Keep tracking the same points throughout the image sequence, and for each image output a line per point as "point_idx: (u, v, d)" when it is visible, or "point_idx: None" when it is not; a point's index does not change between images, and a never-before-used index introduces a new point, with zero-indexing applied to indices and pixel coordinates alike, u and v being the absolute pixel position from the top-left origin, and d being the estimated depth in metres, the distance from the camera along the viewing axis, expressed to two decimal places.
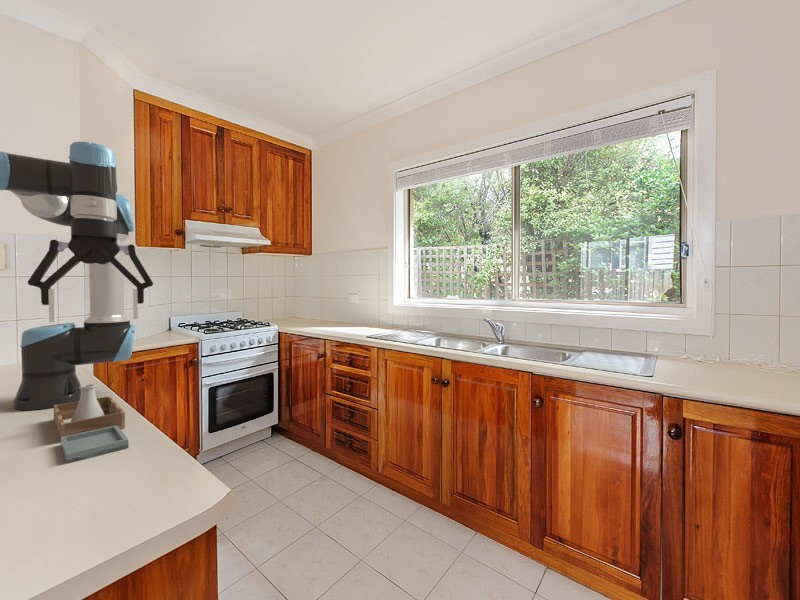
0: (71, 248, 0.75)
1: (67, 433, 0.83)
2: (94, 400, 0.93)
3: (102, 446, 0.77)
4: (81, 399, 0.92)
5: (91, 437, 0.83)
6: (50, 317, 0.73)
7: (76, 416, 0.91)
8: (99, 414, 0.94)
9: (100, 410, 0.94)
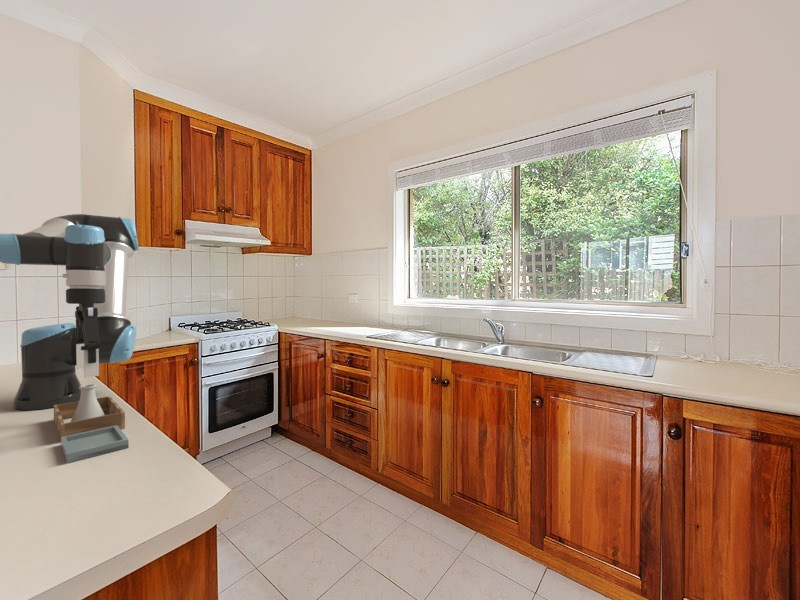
0: None
1: (67, 433, 0.83)
2: (94, 400, 0.93)
3: (102, 446, 0.77)
4: (81, 399, 0.92)
5: (91, 437, 0.83)
6: None
7: (76, 416, 0.91)
8: (99, 414, 0.94)
9: (100, 410, 0.94)
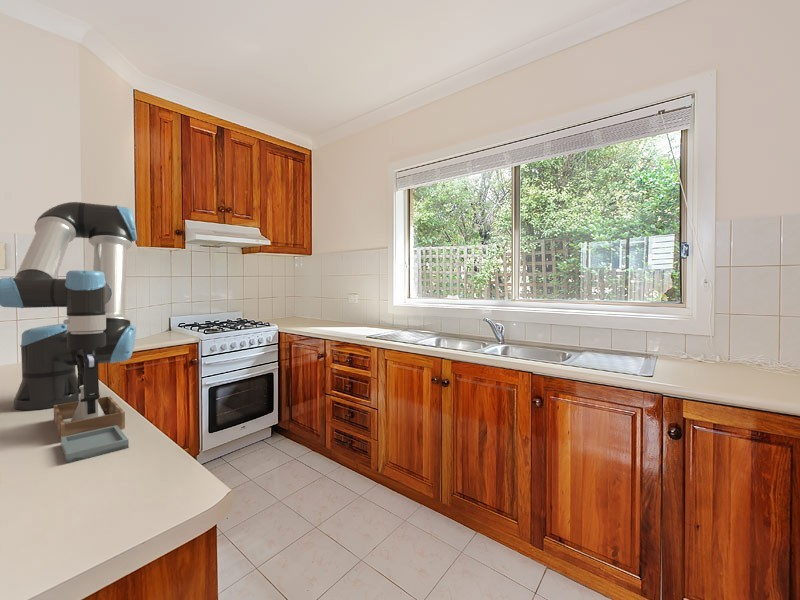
0: None
1: (67, 433, 0.83)
2: None
3: (102, 446, 0.77)
4: None
5: (91, 437, 0.83)
6: None
7: (76, 416, 0.91)
8: (99, 413, 0.94)
9: (100, 410, 0.94)
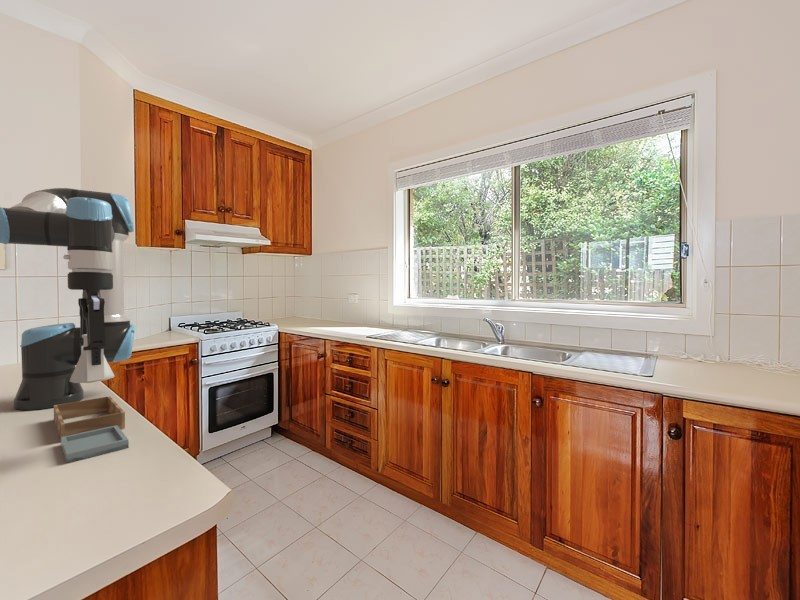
0: None
1: (67, 433, 0.83)
2: None
3: (102, 446, 0.77)
4: None
5: (91, 437, 0.83)
6: None
7: (78, 369, 0.78)
8: (105, 367, 0.80)
9: (106, 364, 0.81)
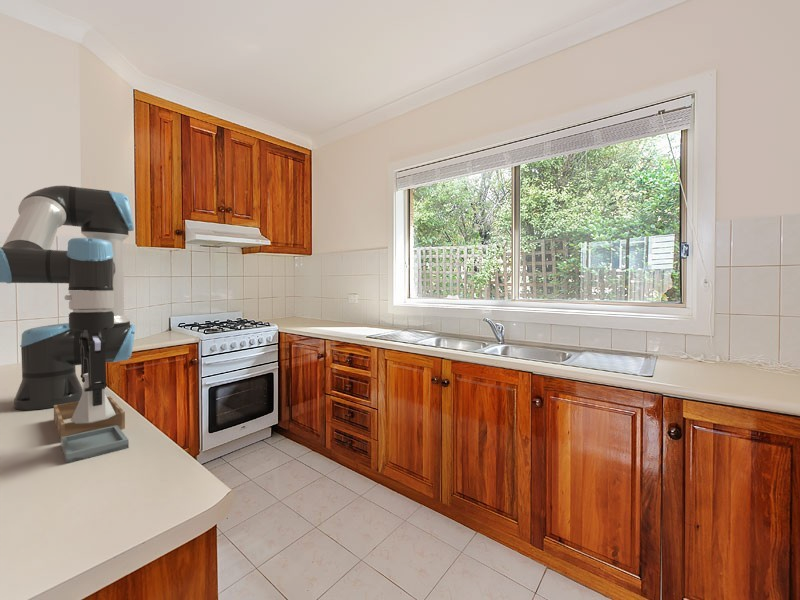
0: None
1: (67, 433, 0.83)
2: None
3: (102, 446, 0.77)
4: None
5: (91, 437, 0.83)
6: None
7: (79, 408, 0.78)
8: (106, 406, 0.80)
9: (107, 402, 0.81)
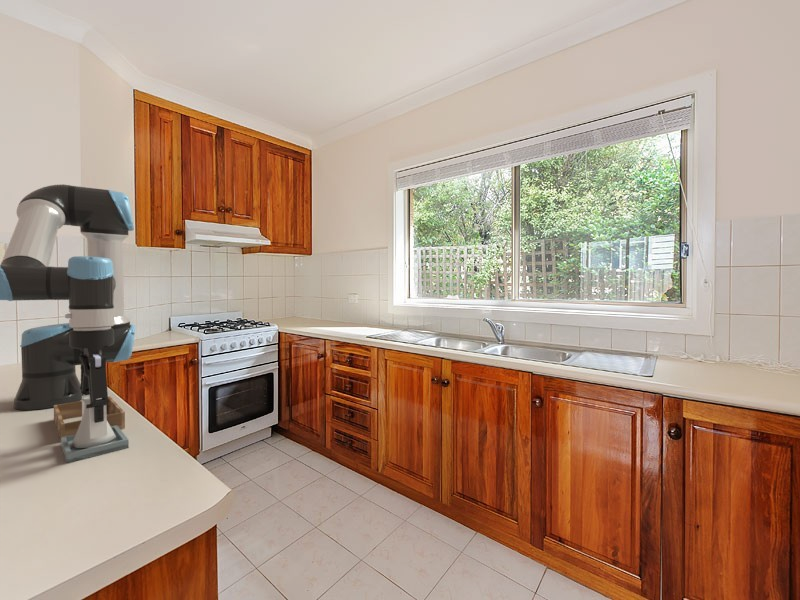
0: None
1: (67, 433, 0.83)
2: None
3: (102, 446, 0.77)
4: (85, 413, 0.79)
5: None
6: None
7: (80, 433, 0.78)
8: None
9: (107, 425, 0.81)
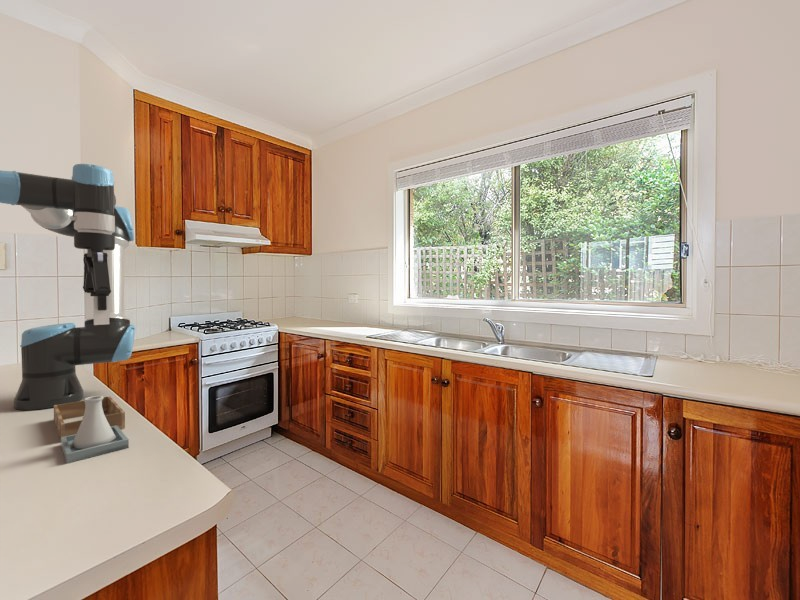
0: None
1: (67, 433, 0.83)
2: (100, 415, 0.80)
3: (102, 446, 0.77)
4: (86, 414, 0.79)
5: None
6: None
7: (80, 433, 0.78)
8: (106, 430, 0.81)
9: (107, 426, 0.81)
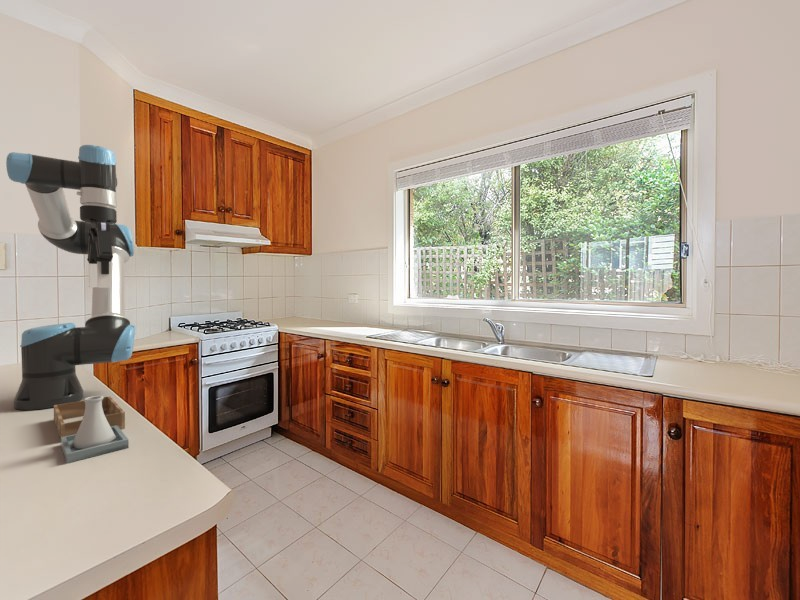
0: None
1: (67, 433, 0.83)
2: (100, 415, 0.80)
3: (102, 446, 0.77)
4: (86, 414, 0.79)
5: None
6: (89, 284, 1.02)
7: (80, 433, 0.78)
8: (106, 430, 0.81)
9: (107, 426, 0.81)
